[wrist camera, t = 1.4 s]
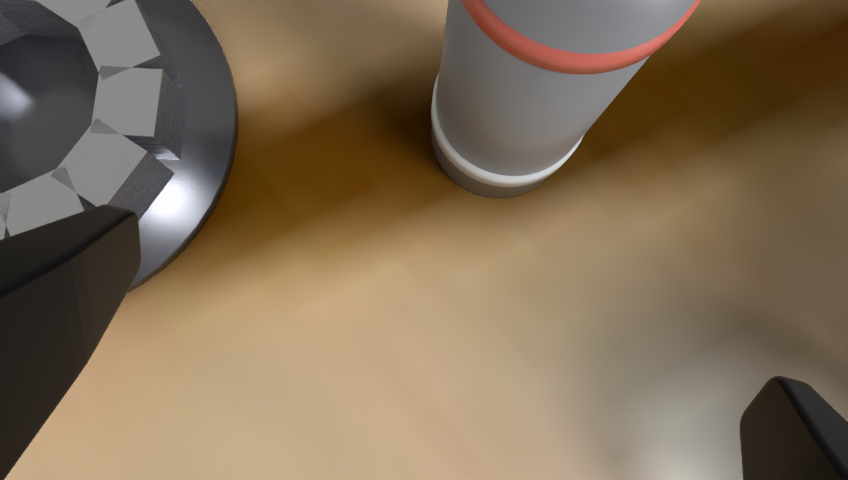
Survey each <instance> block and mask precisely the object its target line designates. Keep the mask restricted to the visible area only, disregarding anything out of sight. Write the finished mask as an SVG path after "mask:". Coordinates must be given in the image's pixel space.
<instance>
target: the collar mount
mask: <svg viewBox="0 0 848 480" xmlns="http://www.w3.org/2000/svg"><path fill="white" fill-rule="evenodd" d="M237 137H238V106H237V96H236V89H235V85H234V81H233V77H232V73H231V69H230V67H229V64H228V62H227V59H226V57H225V54H224V52H223V49H222V47H221V46H220V44H219V42H218V40H217V39H216V37H215V35H214V34H213V32H212V30H211V28H210V27H209V25H208V23H207V22H206V20H205V19H204V17H203V16H202V15H201V14H200V12H199V11H198V10H197V9H196V7H195V6H194V5H193V3H192V2H191V1H190V0H0V240H1V239H4V238H7V237H10V236H13V235H16V234H19V233H22V232H25V231H27V230H30V229H33V228H36V227H39V226H42V225H45V224H48V223H51V222H54V221H56V220H59V219H62V218H65V217H68V216H71V215H74V214H77V213H80V212H83V211H85V210H88V209H91V208H94V207H97V206H100V205H104V204H108V205H114V206H118V207H121V208H125V209H129V210H132V211H133V212H135V213H136V215H137V217H138V221H139V233H140V245H141V264H140V268H139V271H138V273H137V275H136V277H135V279H134V281H133V282H132V284H131V286H130V288H129V290H128V291H127V293H128V292H130V291H131V290H133V289H135V288H137V287H138V286H140V285H142V284H144V283H145V282H146V281H148V280H149V279H151V278H152V277H153V276H155V275H156V274H157V273H159V272H160V271H162V270H163V269H164V268H165V267H167V266H168V265H169V264H170V263H171V262H172V261H173V260H174V259H175V258H176V257H177V256H178V255H179V254H180V253H182V252H183V251H184V250H185V248H186V247H187V246H188V245H189V244H190V242H191V241H192V240H193V239H194V238H195V236H196V235H197V234H198V233H199V232H200V230H201V229H202V228H203V226H204V224H205V223H206V221H207V220H208V218H209V217H210V215H211V214H212V212H213V210H214V209H215V207H216V205H217V203H218V201H219V199H220V196H221V194H222V192H223V190H224V188H225V186H226V183H227V180H228V177H229V174H230V170H231V167H232V164H233V160H234V155H235V149H236V143H237Z"/></svg>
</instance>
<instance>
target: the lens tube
mask: <svg viewBox="0 0 848 480" xmlns="http://www.w3.org/2000/svg"><path fill="white" fill-rule="evenodd" d="M700 1H701V0H449V2H448V9H447V17H446V24H445V31H444V39H443V46H442V53H441V61H440V68H439V73H438V76H437V78H436V81H435V85H434V90H433V98H432V106H431V120H432V128H431V138H432V145H433V149H434V152H435V155H436V157H437V160H438V162H439V164H440V165H441V167H442V168H443V170H444V171H445V172H446V174H447V175H448V176H449V177H450V178H451V179H452V180H453V181H454V182H455V183H457V184H458V185H459V186H461V187H462V188H464V189H466V190H468V191H469V192H472V193H474V194H477V195H480V196H484V197H489V198H510V197H515V196H519V195H522V194H525V193H527V192H530V191H531V190H533V189H535V188H536V187H538V186H539V185H540V184H542V183H543V182H544V181H545V180H546V179H547V178H548V177H549V176H550V175H551V174H552V173H554V172H555V171H556V170H557V169H559V168H560V167H561V166H562V165H563V164H564V163H565V162H566V160H567V159H568V158H569V157H570V156H571V154H572V153H573V152H574V151H575V149H576V148H577V147H578V145H579V144H580V142H581V140H582V138H583V136H584V134H585V133H586V132H587V131H588V129H589V128H590V127H591V126H592V125H593V123H594V122H595V121H596V120H597V119H598V117H599V116H600V115H601V114H602V113H603V111H604V110H605V109H606V108H607V107H608V105H609V104H610V103H611V102H612V101H613V100H614V98H615V97H616V96H617V95H618V94H619V92H620V91H621V90H622V89H623V88H624V86H625V85H626V84H627V83H628V82H629V80H630V79H631V78H632V77H633V76H634V74H635V73H636V72H637V71H638V70H639V68H640V67H641V66H642V65H643V64H644V62H645V61H646V60H647V59H648V58H649V56H650V55H652V54H653V53H654V52H656V51H657V50H658V49H659V48H661V47H662V46H663V45H664V44H665V43H666V42H667V41H668V40H669V39H670V38H671V37H672V36H673V35H674V34H675V33H676V32H677V31H678V30H679V28H680V27H681V26H682V25H683V24H684V23H685V21H686V20H687V19H688V18H689V17H690V15H691V14H692V13H693V11H694V10H695V8H696V7H697V6H698V4H699V3H700Z"/></svg>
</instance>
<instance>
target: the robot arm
mask: <svg viewBox="0 0 848 480" xmlns="http://www.w3.org/2000/svg"><path fill="white" fill-rule="evenodd" d="M140 264H141V245H140V233H139V221H138V217H137V215H136V213H135V212H133V211H132V210H129V209H125V208H121V207H118V206H114V205H108V204H104V205H100V206H97V207H94V208H91V209H88V210H85V211H83V212H80V213H77V214H74V215H71V216H68V217H65V218H62V219H59V220H56V221H54V222H51V223H48V224H45V225H42V226H39V227H36V228H33V229H30V230H27V231H25V232H22V233H19V234H16V235H13V236H10V237H7V238H4V239H1V240H0V480H4V479H5V478H6V476H7V475H8V473H9V472H10V471H11V469H12V468H13V466H14V465H15V464H16V462H17V461H18V459H19V458H20V457H21V455H22V454H23V452H24V451H25V450H26V448H27V447H28V445H29V444H30V443H31V441H32V440H33V438H34V437H35V436H36V434H37V433H38V432H39V430H40V429H41V427H42V426H43V425H44V423H45V422H46V420H47V419H48V418H49V416H50V415H51V413H52V412H53V411H54V409H55V408H56V406H57V405H58V404H59V402H60V401H61V399H62V398H63V397H64V395H65V394H66V392H67V391H68V390H69V388H70V387H71V385H72V384H73V383H74V381H75V380H76V379H77V377H78V376H79V374H80V373H81V371H82V370H83V368H84V367H85V365H86V364H87V362H88V361H89V359H90V357H91V356H92V354H93V352H94V351H95V349H96V347H97V346H98V344H99V342H100V340H101V338H102V337H103V335H104V333H105V331H106V329H107V328H108V326H109V324H110V322H111V320H112V318H113V317H114V315H115V313H116V311H117V309H118V308H119V306H120V304H121V302H122V300H123V299H124V297H125V295H126V293H127V291H128V290H129V288H130V286H131V284H132V282H133V281H134V279H135V277H136V275H137V273H138V271H139V268H140ZM740 441H741V455H742V469H743V480H848V422H847V421H846V420H845V419H844V418H843V417H842V416H841V415H839V414H838V413H837V412H836V411H835V410H834V409H833V408H832V407H831V406H830V405H829V404H828V403H827V402H826V401H825V400H824V399H823V398H822V397H821V396H820V395H819V394H818V393H817V392H816V391H815V390H814V389H813V388H812V387H811V386H809V385H808V384H806V383H804V382H801V381H798V380H794V379H790V378H786V377H782V376H775V377H773V378H771V379H769V380H768V382H767V383H766V384H765V385H764V387H763V388H762V389H761V390H760V392H759V393H758V394H757V396H756V397H755V398H754V399H753V401H752V402H751V403H750V405H749V406H748V407H747V408H746V410H745V411H744V413H743V415H742V418H741V421H740Z"/></svg>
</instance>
